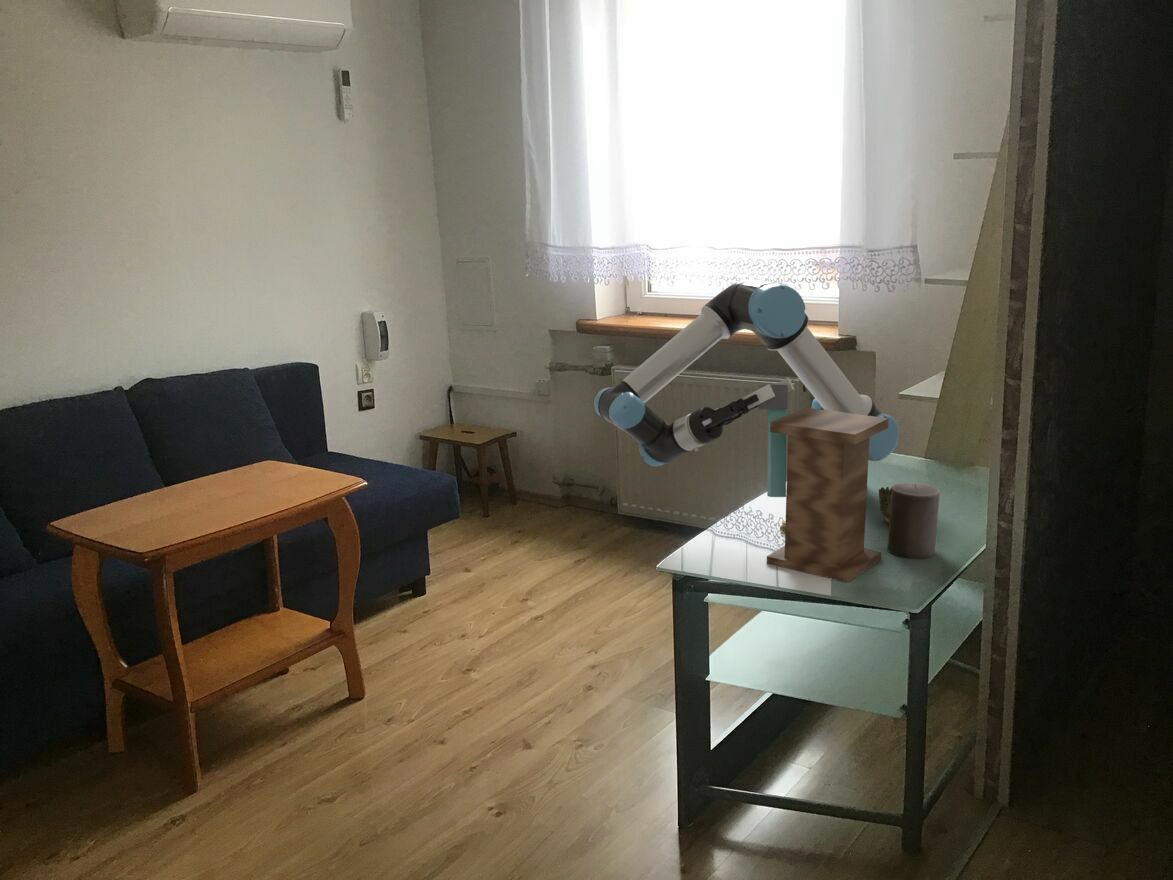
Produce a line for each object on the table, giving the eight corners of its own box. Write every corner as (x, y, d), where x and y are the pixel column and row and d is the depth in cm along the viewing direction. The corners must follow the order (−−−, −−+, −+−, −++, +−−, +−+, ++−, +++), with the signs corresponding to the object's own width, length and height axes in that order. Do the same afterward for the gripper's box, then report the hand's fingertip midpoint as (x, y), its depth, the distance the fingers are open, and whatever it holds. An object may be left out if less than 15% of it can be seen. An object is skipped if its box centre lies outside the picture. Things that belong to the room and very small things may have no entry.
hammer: (786, 497, 214) (762, 497, 214) (781, 495, 219) (757, 495, 219) (787, 384, 214) (763, 384, 214) (782, 385, 219) (758, 385, 219)
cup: (912, 530, 235) (914, 496, 233) (878, 528, 236) (880, 494, 234) (909, 519, 242) (911, 486, 240) (876, 518, 243) (877, 485, 241)
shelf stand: (766, 563, 217) (770, 422, 210) (802, 541, 229) (806, 407, 222) (848, 582, 206) (855, 434, 199) (881, 558, 218) (888, 418, 211)
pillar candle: (890, 558, 219) (895, 489, 215) (884, 541, 228) (889, 475, 224) (939, 560, 217) (945, 490, 214) (930, 543, 227) (936, 477, 223)
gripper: (730, 434, 237) (811, 394, 223) (680, 454, 222) (764, 412, 207) (716, 404, 238) (796, 362, 223) (665, 422, 223) (748, 378, 208)
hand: (781, 386), depth 215 cm, fingers closed on hammer, 8 cm apart
